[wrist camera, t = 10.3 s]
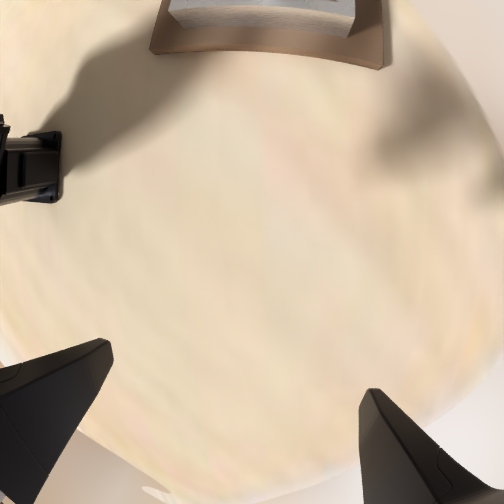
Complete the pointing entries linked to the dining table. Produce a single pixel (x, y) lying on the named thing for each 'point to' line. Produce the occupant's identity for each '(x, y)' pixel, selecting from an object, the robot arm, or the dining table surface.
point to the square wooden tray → (278, 38)
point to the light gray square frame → (267, 14)
